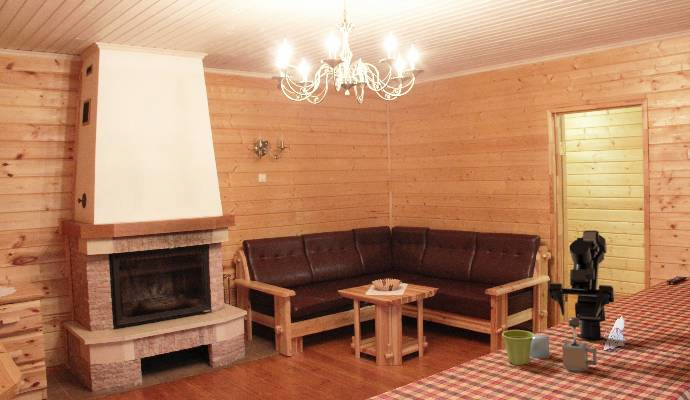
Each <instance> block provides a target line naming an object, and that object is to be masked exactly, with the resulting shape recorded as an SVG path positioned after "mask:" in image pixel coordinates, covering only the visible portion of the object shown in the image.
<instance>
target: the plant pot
mask: <svg viewBox="0 0 690 400" xmlns="http://www.w3.org/2000/svg"><path fill="white" fill-rule="evenodd" d="M501 335H502V337H503V340H504V342H505V343H504V344H505V349H506V354H507V355H506V356H507V361H508V363H509V364H510V363H511V364H512V365H515V366H523V365H528V364H529V363H530V358H531V357H530V350H531V342H532V339H533V337H534V333H533V332H531V331H527V330H522V329H521V330H520V329H511V330H506V331H503V332H502V334H501Z"/></svg>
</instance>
